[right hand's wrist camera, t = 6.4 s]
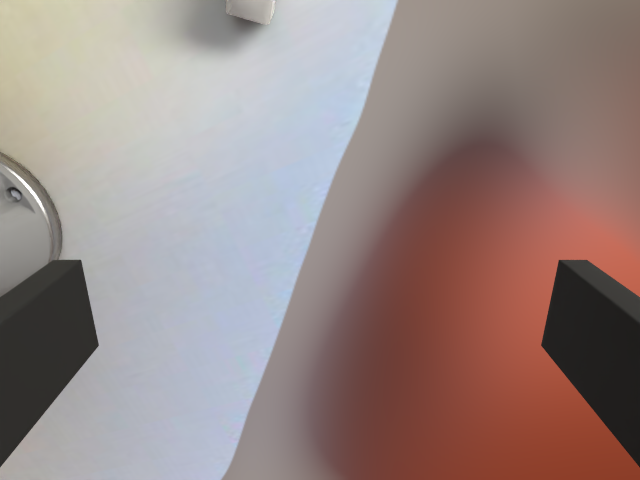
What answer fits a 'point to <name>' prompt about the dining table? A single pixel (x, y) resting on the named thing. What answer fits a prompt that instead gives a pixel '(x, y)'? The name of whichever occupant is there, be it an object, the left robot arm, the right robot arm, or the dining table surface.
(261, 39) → the dining table surface
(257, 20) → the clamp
